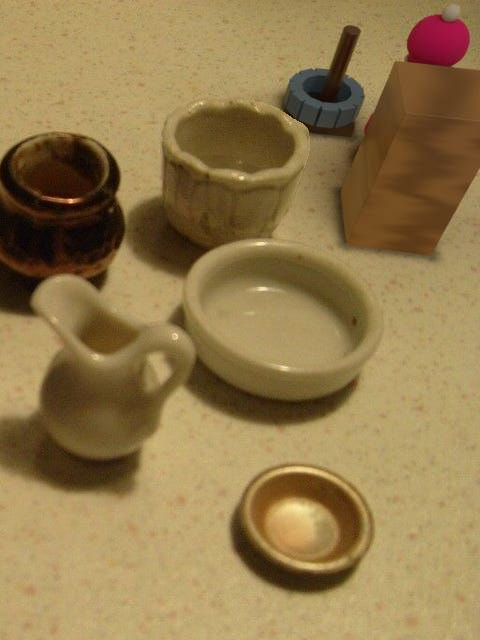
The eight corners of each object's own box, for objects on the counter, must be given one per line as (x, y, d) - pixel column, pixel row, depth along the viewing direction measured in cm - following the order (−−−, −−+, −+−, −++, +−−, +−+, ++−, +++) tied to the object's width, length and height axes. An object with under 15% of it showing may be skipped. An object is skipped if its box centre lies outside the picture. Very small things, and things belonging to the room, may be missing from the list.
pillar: (420, 202, 98) (488, 70, 85) (430, 256, 93) (504, 124, 80) (340, 192, 99) (394, 60, 86) (345, 245, 94) (405, 112, 80)
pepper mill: (350, 141, 105) (413, -16, 90) (410, 148, 105) (485, -10, 89) (355, 178, 101) (422, 19, 85) (418, 186, 100) (498, 27, 85)
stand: (346, 104, 110) (380, 17, 101) (351, 137, 106) (386, 49, 97) (291, 98, 111) (319, 10, 102) (293, 130, 107) (322, 42, 97)
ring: (352, 88, 110) (359, 71, 108) (361, 131, 104) (369, 113, 102) (281, 82, 111) (286, 65, 109) (287, 124, 105) (292, 106, 103)
